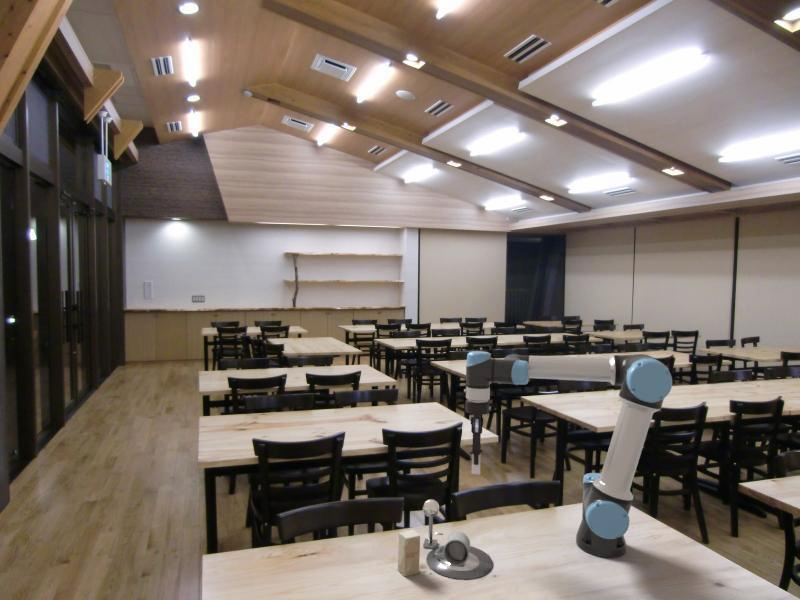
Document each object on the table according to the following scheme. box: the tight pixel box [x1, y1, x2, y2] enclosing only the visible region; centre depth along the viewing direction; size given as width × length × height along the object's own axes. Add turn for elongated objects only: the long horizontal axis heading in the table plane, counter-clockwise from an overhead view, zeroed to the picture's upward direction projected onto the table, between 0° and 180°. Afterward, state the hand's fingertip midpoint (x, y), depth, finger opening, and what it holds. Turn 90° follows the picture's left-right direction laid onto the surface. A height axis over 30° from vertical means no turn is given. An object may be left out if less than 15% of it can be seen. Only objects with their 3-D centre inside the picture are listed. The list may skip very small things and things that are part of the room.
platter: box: [426, 544, 494, 580], centre depth 159 cm, size 20×20×1 cm
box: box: [397, 529, 421, 577], centre depth 153 cm, size 5×4×11 cm
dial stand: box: [422, 499, 444, 550], centre depth 169 cm, size 6×4×14 cm, turn 79°
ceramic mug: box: [435, 531, 471, 566], centre depth 160 cm, size 11×8×8 cm
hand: (475, 473), depth 168 cm, fingers closed
